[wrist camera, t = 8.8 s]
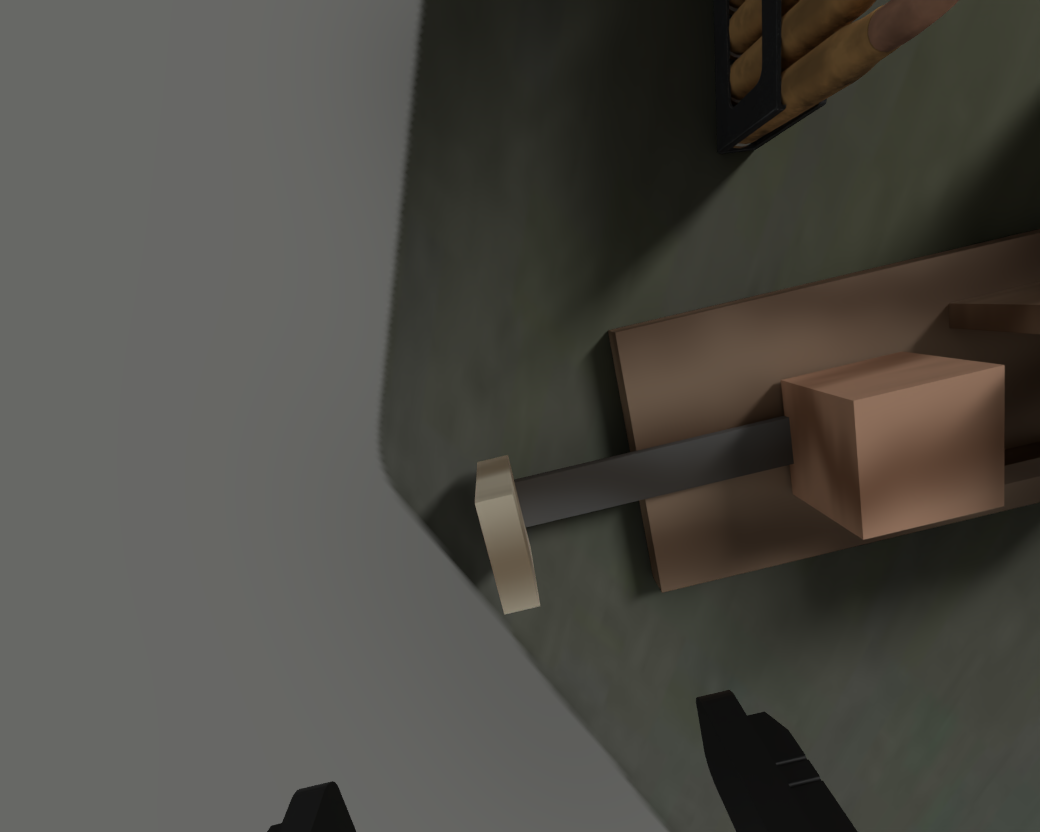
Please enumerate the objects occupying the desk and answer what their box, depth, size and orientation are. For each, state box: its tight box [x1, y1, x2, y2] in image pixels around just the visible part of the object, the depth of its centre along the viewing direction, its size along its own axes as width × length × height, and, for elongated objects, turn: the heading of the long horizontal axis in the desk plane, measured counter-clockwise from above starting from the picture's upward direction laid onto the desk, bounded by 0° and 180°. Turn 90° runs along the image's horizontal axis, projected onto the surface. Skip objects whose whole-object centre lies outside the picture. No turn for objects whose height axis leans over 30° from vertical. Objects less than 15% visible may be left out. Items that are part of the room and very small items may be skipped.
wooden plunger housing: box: [608, 229, 1040, 593], centre depth 21 cm, size 14×28×12 cm, turn 103°
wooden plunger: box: [475, 352, 1005, 614], centre depth 23 cm, size 6×21×5 cm, turn 103°
